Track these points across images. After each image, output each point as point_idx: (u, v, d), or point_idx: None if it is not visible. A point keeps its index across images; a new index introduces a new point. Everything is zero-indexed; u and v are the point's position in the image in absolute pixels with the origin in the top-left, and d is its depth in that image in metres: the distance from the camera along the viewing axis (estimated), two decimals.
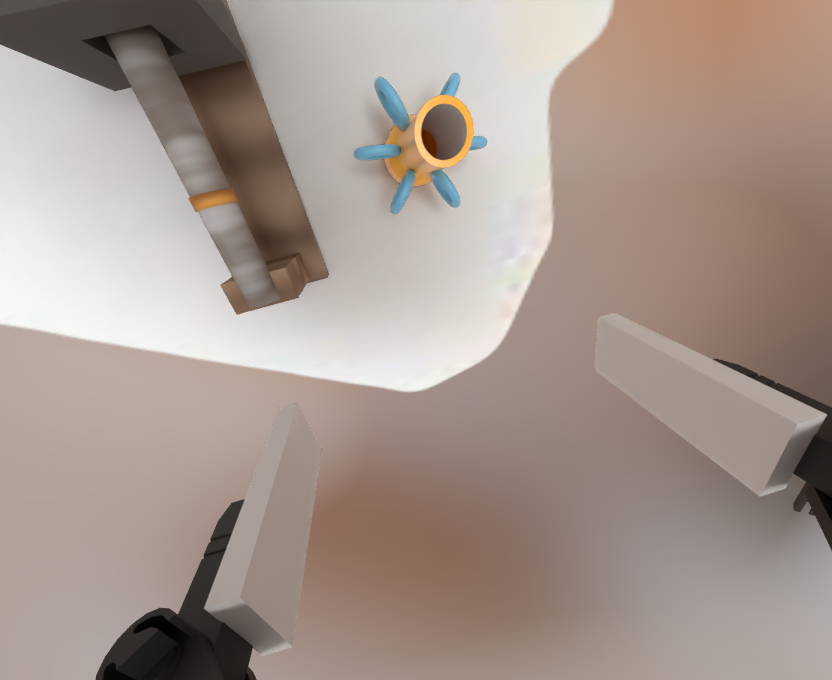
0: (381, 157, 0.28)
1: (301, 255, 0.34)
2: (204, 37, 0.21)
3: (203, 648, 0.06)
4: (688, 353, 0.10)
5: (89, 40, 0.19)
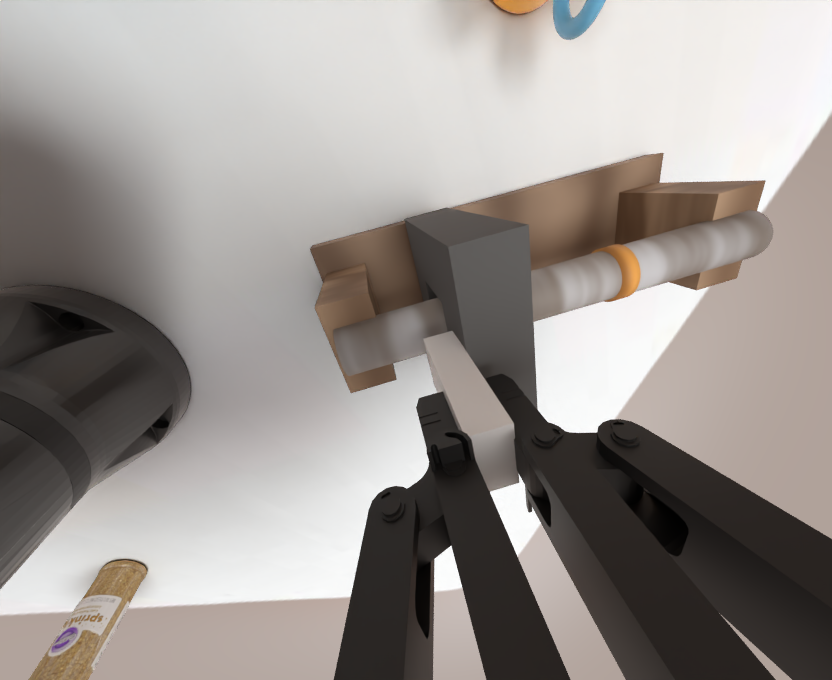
0: None
1: (623, 189, 0.24)
2: None
3: (480, 472, 0.08)
4: (471, 368, 0.11)
5: None
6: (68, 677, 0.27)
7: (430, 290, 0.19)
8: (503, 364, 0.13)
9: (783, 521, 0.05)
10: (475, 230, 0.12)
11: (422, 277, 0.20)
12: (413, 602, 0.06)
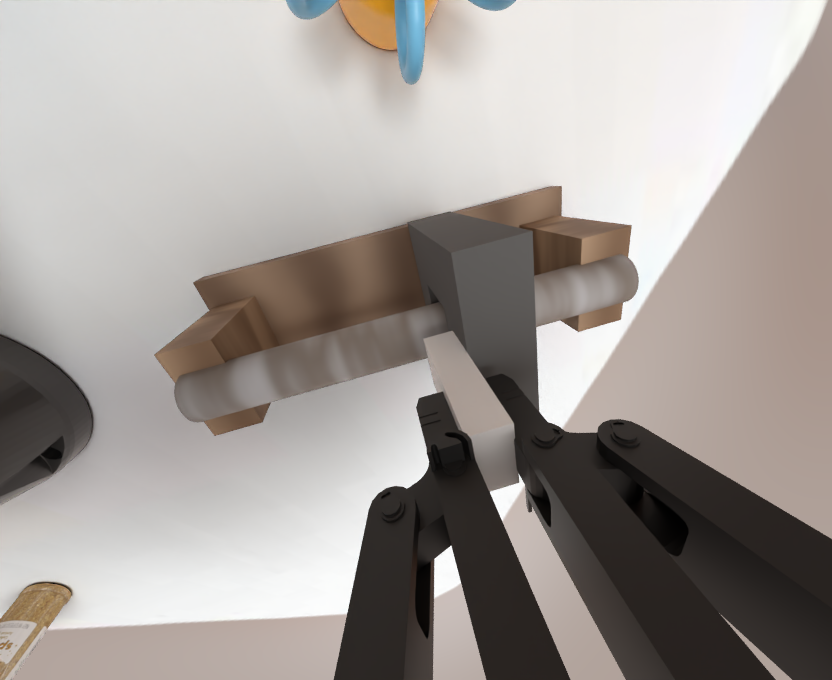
0: None
1: (523, 222, 0.23)
2: None
3: (480, 472, 0.08)
4: (471, 368, 0.11)
5: None
6: None
7: (432, 294, 0.19)
8: (505, 371, 0.13)
9: (781, 520, 0.05)
10: (478, 236, 0.12)
11: (424, 281, 0.20)
12: (413, 602, 0.06)
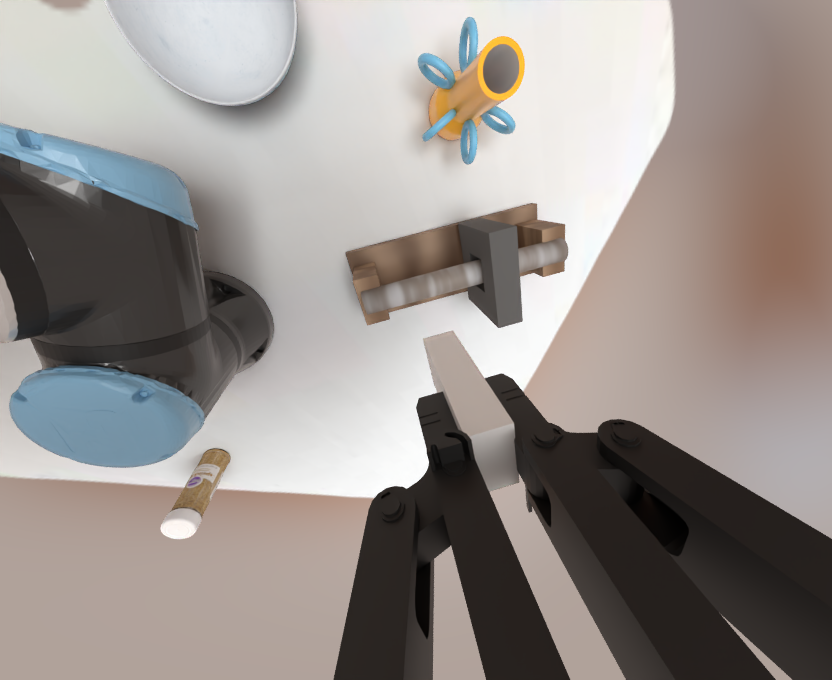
0: (466, 140, 0.35)
1: (516, 223, 0.44)
2: None
3: (480, 472, 0.08)
4: (471, 369, 0.11)
5: None
6: (200, 498, 0.46)
7: (471, 257, 0.39)
8: (507, 281, 0.33)
9: (782, 521, 0.05)
10: (497, 228, 0.32)
11: (467, 251, 0.40)
12: (413, 603, 0.06)
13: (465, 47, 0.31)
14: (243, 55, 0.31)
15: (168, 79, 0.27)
